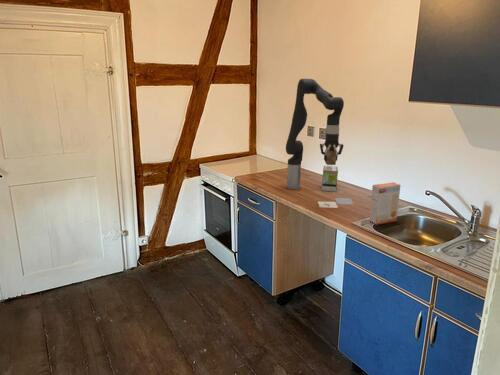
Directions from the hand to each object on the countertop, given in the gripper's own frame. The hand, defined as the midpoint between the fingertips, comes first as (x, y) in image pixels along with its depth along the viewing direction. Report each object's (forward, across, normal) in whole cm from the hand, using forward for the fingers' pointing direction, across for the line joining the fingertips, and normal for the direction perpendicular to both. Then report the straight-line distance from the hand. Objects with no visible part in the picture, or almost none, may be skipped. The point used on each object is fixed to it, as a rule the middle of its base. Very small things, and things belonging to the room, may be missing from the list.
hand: (330, 161), depth 223 cm
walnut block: (+1, 0, 0) cm, 1 cm away
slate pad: (+27, +11, +6) cm, 30 cm away
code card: (+27, 0, 0) cm, 27 cm away
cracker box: (+27, +26, -26) cm, 46 cm away
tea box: (+28, +6, +36) cm, 46 cm away
